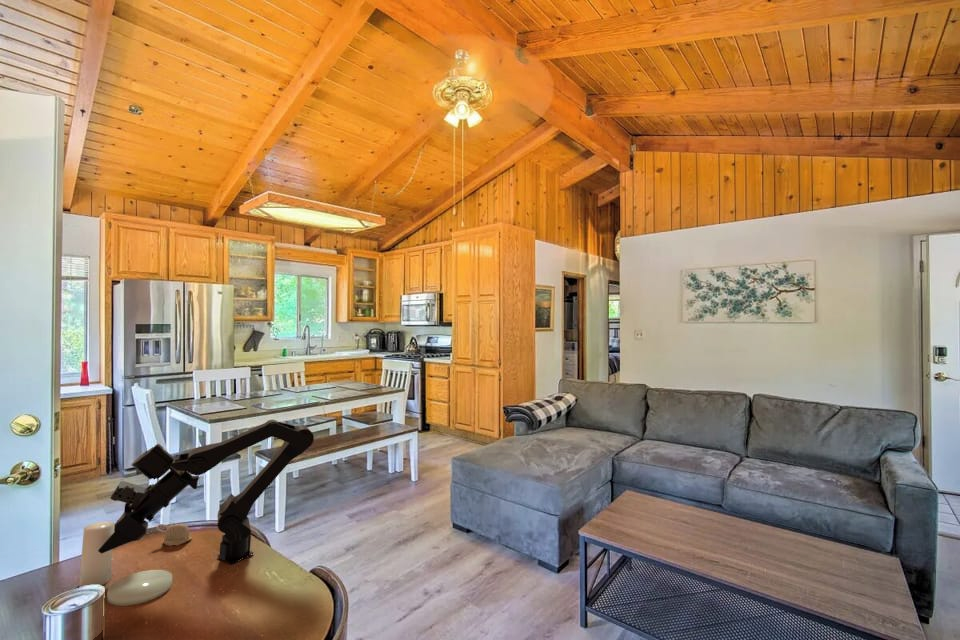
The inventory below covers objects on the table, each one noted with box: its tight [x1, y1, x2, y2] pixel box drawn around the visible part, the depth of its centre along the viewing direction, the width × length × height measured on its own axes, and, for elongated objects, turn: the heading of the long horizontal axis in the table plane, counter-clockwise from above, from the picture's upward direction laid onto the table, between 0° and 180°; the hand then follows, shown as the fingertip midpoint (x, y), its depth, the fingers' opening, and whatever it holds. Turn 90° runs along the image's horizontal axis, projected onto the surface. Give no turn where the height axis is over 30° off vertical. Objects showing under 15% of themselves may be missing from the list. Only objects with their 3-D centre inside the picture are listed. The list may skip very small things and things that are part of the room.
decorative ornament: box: [155, 523, 193, 547], centre depth 126 cm, size 4×8×5 cm, turn 102°
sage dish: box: [106, 569, 173, 607], centre depth 103 cm, size 12×12×2 cm
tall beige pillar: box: [78, 520, 116, 588], centre depth 106 cm, size 6×6×13 cm
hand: (104, 543), depth 106 cm, fingers open, 9 cm apart
